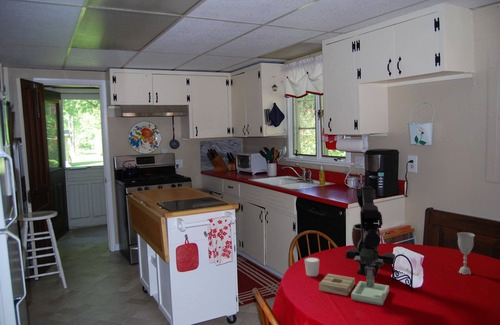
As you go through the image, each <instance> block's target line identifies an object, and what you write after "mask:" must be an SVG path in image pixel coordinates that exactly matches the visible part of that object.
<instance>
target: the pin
mask: <svg viewBox="0 0 500 325" xmlns="http://www.w3.org/2000/svg"><path fill="white" fill-rule="evenodd" d="M375 267H376V265H375V263H365V268H366V273H367V275H366V282H367V287H370V288H373V287H374V283H375Z"/></svg>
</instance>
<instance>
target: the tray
mask: <svg viewBox="0 0 500 325" xmlns="http://www.w3.org/2000/svg"><path fill="white" fill-rule="evenodd" d="M389 291H390V285H387V284H382V283H381V284H380V283H375V282H374V287H373V288H370V287H367V281H362V280H360V281H358V283H357V284H356V286H355V288H354V289H353V290H352V292H351V293H350V294H351V295H350V297H351V298H350V299H351V300H352V301H357V302H361V303H367V304H372V305H377V306H383V305H384V303H385V301H386V299H387V296H388V295H389Z"/></svg>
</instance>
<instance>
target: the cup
mask: <svg viewBox="0 0 500 325" xmlns="http://www.w3.org/2000/svg"><path fill="white" fill-rule="evenodd" d="M304 266H305V274H306V276H308V277H317V276H319V269H320V259H319V258H318V257H313V256H311V257H306V258H304Z"/></svg>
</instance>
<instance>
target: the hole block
mask: <svg viewBox="0 0 500 325" xmlns="http://www.w3.org/2000/svg"><path fill="white" fill-rule="evenodd" d="M355 279H356V278H355V277H350V276H344V275H339V274H332V273H327V274H326V275H325V276H324V278H323V279H322V280H321V281H320V282H319V283H318V290H319V292H326V293H330V294H331V293H332V294H336V295H337V294H338V295H342V296H349V294H350V292H351V291H352V289H353V288H354V286H355V285H356V284H355V283H356V282H355Z"/></svg>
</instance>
